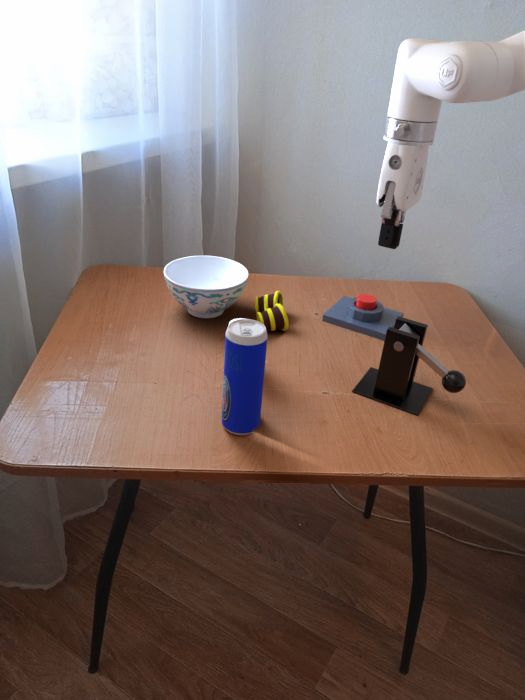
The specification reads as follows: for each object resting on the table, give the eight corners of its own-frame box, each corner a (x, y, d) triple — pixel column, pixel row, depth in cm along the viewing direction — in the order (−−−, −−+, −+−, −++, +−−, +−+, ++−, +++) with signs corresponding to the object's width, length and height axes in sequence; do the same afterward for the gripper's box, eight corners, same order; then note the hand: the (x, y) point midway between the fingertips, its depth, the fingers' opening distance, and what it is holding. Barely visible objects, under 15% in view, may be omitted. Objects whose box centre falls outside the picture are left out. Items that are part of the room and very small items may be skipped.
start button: (378, 306, 102) (379, 297, 101) (371, 313, 100) (373, 304, 99) (359, 300, 104) (361, 292, 103) (352, 307, 101) (353, 298, 100)
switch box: (401, 323, 105) (405, 304, 103) (384, 345, 97) (388, 325, 95) (342, 305, 110) (345, 286, 108) (321, 325, 102) (324, 305, 100)
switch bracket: (431, 394, 85) (450, 326, 79) (416, 421, 79) (435, 350, 73) (369, 372, 89) (383, 306, 83) (350, 397, 83) (364, 327, 77)
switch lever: (457, 390, 80) (473, 377, 78) (451, 401, 78) (468, 388, 76) (394, 334, 82) (408, 319, 79) (386, 343, 79) (401, 328, 77)
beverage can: (223, 411, 78) (227, 316, 70) (260, 414, 78) (268, 319, 70) (219, 435, 73) (223, 336, 66) (258, 438, 73) (267, 339, 66)
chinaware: (168, 331, 96) (167, 290, 92) (161, 293, 108) (160, 256, 104) (253, 327, 99) (256, 287, 95) (237, 291, 112) (239, 254, 108)
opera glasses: (256, 313, 106) (252, 290, 103) (283, 309, 106) (281, 285, 103) (260, 339, 97) (256, 314, 95) (290, 335, 97) (287, 310, 95)
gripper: (420, 141, 78) (395, 264, 87) (446, 129, 90) (422, 239, 99) (369, 133, 81) (351, 253, 90) (400, 122, 93) (381, 230, 102)
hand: (388, 246), depth 95 cm, fingers closed
